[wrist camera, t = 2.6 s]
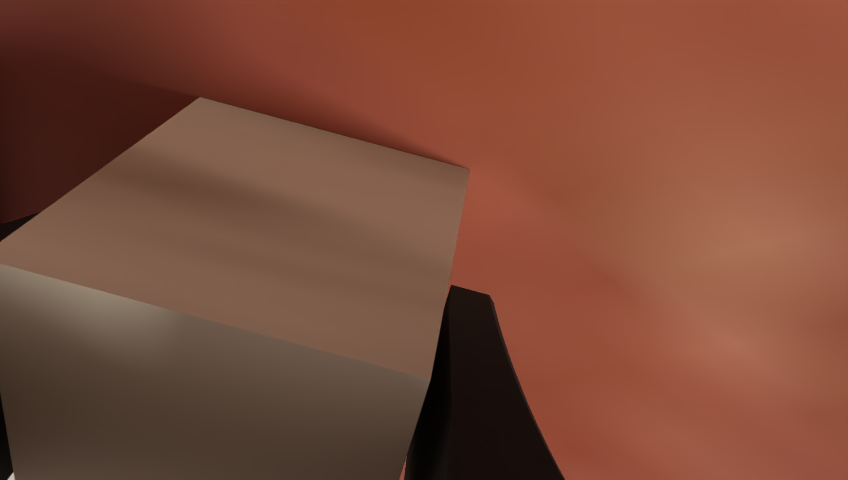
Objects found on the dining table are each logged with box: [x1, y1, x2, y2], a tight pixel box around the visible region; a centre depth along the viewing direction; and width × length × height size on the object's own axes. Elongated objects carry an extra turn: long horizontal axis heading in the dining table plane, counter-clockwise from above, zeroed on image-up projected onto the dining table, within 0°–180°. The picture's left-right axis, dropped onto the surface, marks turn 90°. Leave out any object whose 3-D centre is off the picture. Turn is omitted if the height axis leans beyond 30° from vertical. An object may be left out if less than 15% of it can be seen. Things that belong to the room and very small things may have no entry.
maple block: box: [0, 97, 470, 480], centre depth 10 cm, size 4×4×5 cm
